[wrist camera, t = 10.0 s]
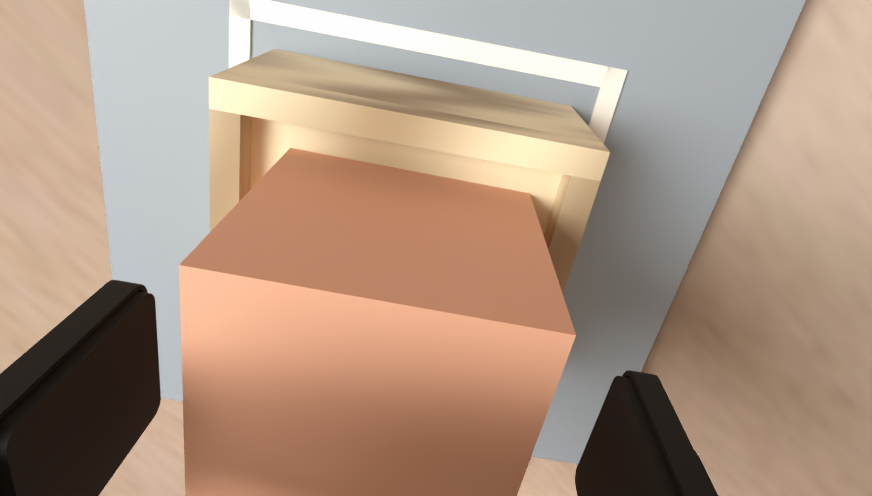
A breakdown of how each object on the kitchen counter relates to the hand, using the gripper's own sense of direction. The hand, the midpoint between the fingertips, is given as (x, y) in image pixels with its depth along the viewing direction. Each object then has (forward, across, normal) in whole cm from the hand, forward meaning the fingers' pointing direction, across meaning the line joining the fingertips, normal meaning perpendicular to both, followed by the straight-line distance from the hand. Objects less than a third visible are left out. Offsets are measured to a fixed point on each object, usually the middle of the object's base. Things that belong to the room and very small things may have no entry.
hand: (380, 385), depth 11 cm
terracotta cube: (+4, 0, 0) cm, 4 cm away
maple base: (+8, 0, 0) cm, 8 cm away
